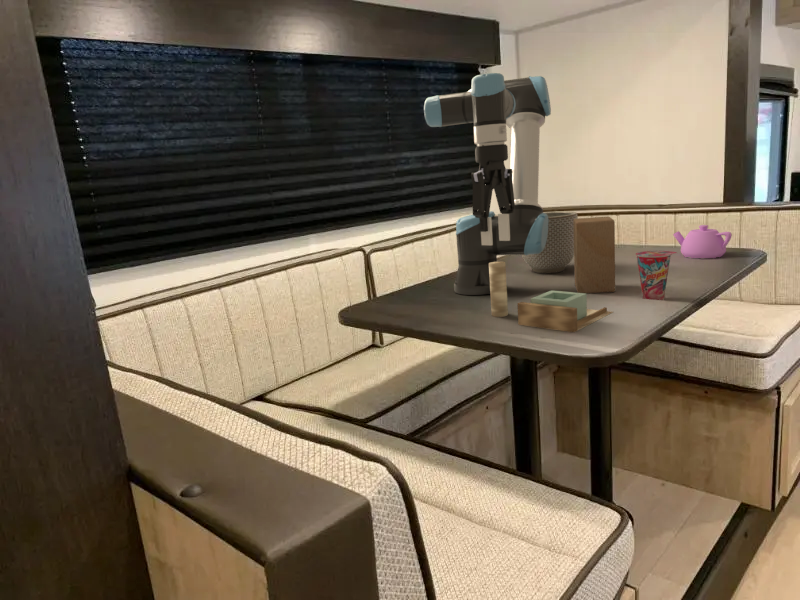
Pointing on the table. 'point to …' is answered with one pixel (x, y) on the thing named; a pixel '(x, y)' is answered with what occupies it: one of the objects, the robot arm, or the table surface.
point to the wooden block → (594, 254)
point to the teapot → (703, 243)
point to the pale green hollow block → (564, 301)
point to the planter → (555, 244)
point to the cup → (653, 273)
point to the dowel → (498, 289)
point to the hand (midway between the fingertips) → (496, 242)
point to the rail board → (556, 316)
